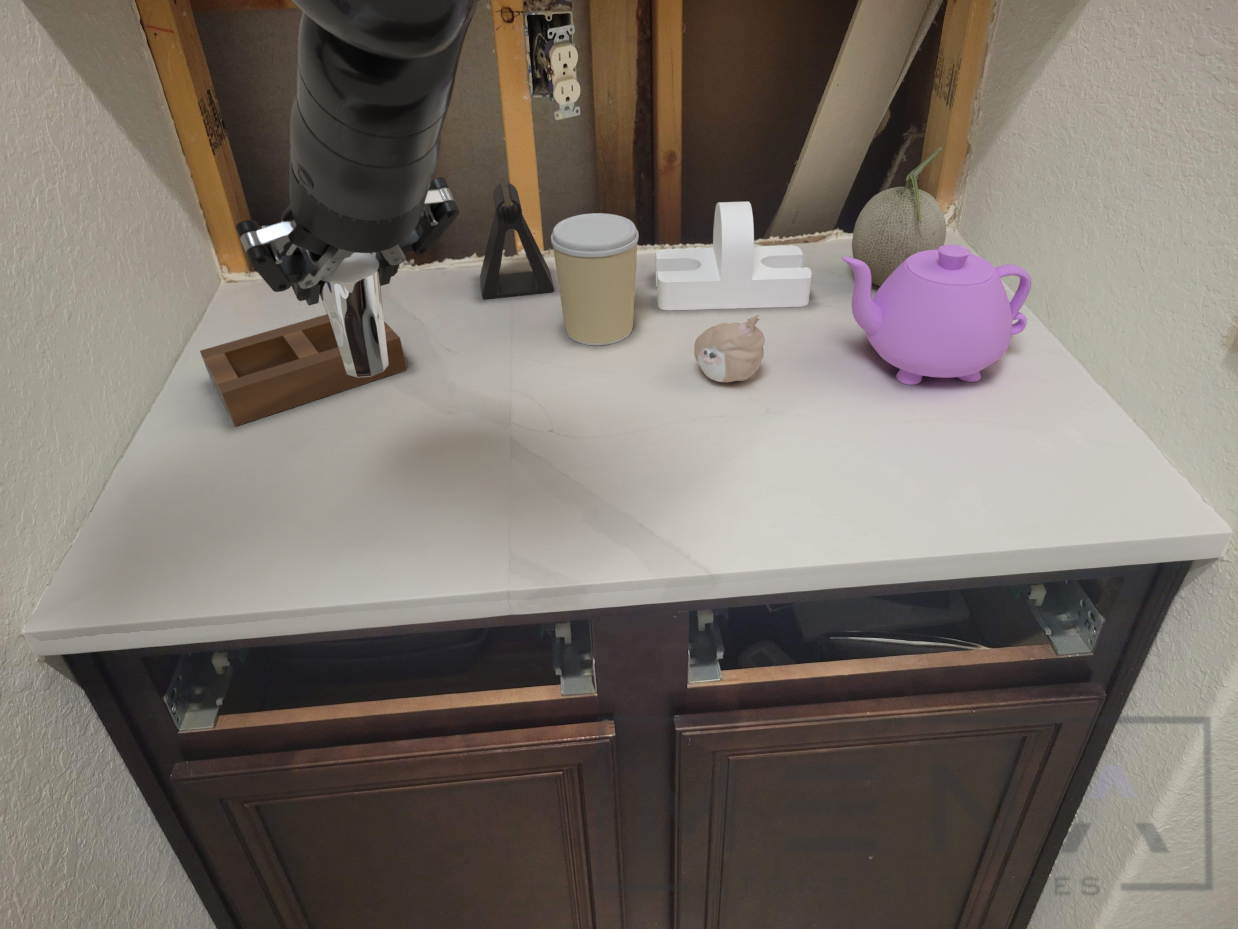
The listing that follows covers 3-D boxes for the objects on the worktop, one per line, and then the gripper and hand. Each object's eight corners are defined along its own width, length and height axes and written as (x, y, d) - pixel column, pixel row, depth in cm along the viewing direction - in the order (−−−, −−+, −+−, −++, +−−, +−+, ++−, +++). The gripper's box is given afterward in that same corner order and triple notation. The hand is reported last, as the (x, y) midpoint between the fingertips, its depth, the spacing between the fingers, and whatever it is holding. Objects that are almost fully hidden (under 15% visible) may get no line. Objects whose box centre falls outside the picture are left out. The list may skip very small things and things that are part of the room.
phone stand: (549, 272, 107) (541, 179, 100) (554, 292, 102) (546, 196, 95) (480, 279, 106) (467, 186, 98) (482, 299, 101) (468, 203, 94)
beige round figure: (712, 399, 82) (716, 328, 77) (685, 369, 87) (686, 300, 82) (770, 384, 84) (777, 314, 79) (740, 356, 88) (745, 287, 84)
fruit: (856, 305, 97) (877, 178, 88) (839, 264, 106) (856, 145, 97) (946, 304, 96) (976, 176, 87) (921, 263, 106) (946, 144, 96)
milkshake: (418, 363, 63) (396, 236, 57) (355, 389, 60) (325, 256, 54) (386, 344, 65) (362, 220, 59) (324, 367, 62) (293, 239, 56)
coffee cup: (620, 304, 99) (617, 206, 92) (653, 338, 92) (653, 235, 85) (547, 320, 96) (538, 221, 89) (575, 356, 89) (568, 252, 82)
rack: (407, 370, 88) (400, 337, 86) (235, 427, 81) (221, 392, 78) (374, 334, 95) (366, 302, 92) (212, 383, 87) (199, 350, 85)
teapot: (842, 403, 81) (861, 285, 73) (810, 333, 92) (824, 225, 84) (1044, 393, 81) (1084, 275, 73) (987, 325, 92) (1017, 217, 85)
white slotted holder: (655, 276, 105) (655, 192, 98) (796, 271, 105) (805, 187, 98) (658, 310, 97) (658, 222, 91) (810, 306, 97) (821, 217, 91)
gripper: (457, 73, 48) (414, 215, 63) (199, 115, 42) (222, 261, 57) (508, 188, 48) (453, 303, 63) (256, 248, 41) (264, 358, 57)
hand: (343, 282), depth 60 cm, fingers closed on milkshake, 4 cm apart
